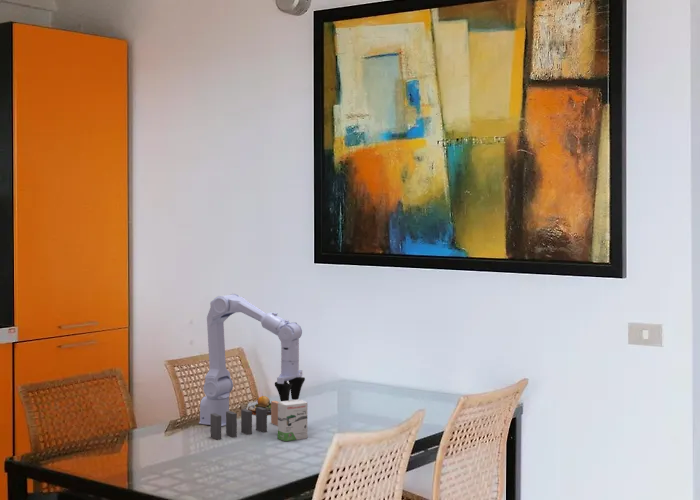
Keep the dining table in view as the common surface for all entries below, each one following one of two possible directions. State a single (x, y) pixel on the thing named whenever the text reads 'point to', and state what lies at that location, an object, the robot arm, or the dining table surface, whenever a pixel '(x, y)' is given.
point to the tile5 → (215, 426)
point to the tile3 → (246, 421)
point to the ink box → (292, 420)
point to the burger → (261, 405)
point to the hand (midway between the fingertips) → (289, 401)
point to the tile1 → (274, 412)
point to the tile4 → (231, 424)
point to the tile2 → (261, 419)
